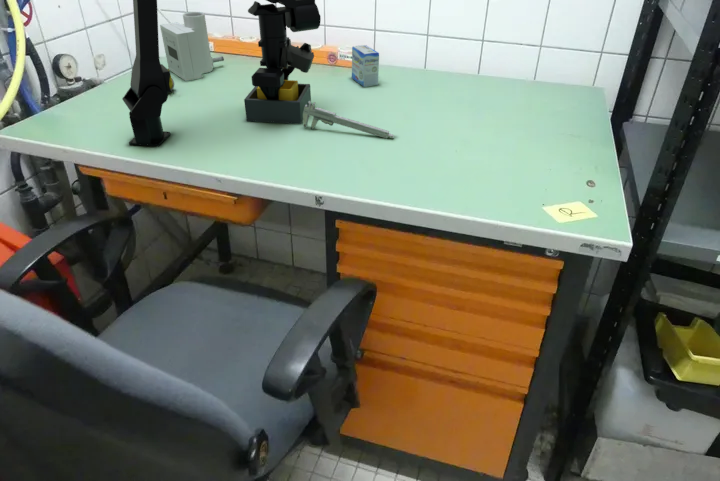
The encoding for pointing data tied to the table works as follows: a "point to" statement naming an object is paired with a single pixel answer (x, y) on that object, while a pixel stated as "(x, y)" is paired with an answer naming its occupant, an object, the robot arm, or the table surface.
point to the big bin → (277, 107)
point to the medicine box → (365, 65)
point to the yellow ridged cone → (171, 83)
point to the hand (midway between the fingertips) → (279, 104)
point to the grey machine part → (188, 47)
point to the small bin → (284, 91)
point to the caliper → (339, 121)
